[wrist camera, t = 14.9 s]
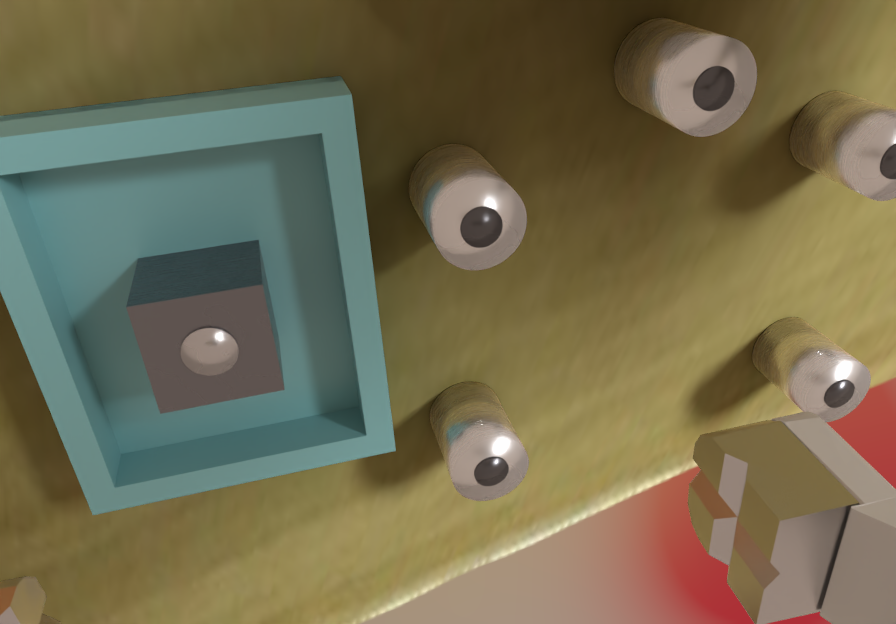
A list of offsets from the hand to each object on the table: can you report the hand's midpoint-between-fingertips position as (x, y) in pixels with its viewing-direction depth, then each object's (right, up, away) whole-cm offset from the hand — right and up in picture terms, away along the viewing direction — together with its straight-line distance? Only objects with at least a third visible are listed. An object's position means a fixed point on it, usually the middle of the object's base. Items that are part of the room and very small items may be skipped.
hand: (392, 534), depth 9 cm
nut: (-9, +3, +21) cm, 23 cm away
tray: (-9, +4, +22) cm, 24 cm away
